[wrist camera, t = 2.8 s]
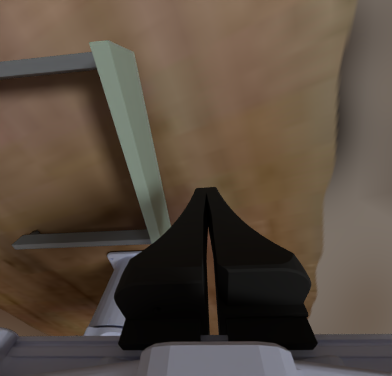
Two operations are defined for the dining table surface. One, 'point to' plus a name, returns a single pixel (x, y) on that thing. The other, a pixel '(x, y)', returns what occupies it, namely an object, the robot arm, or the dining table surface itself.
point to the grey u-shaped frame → (127, 132)
